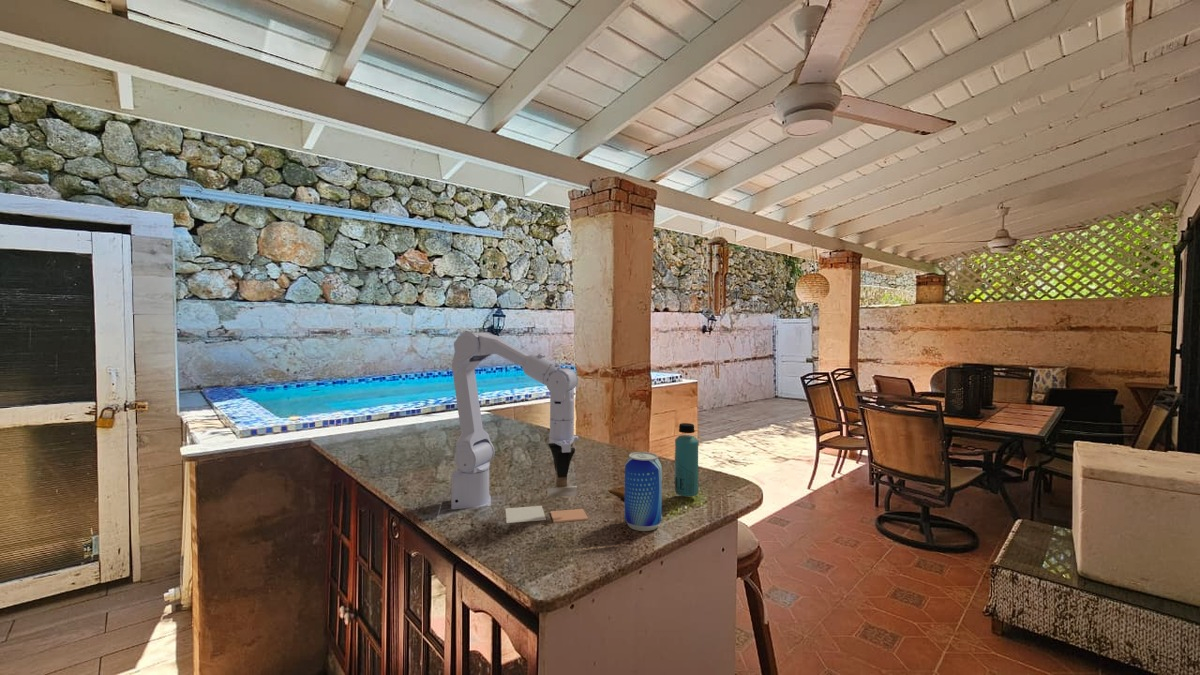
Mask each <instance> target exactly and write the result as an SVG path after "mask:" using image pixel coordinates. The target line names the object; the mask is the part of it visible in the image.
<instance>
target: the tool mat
mask: <svg viewBox="0 0 1200 675" xmlns="http://www.w3.org/2000/svg"><path fill="white" fill-rule="evenodd" d="M546 520H547V518H546V514H545V511H544V509H543V506H542V505H533V506H523V507H521V506H520V507H507V508H505V521H506V524H513V523H524V522H536V521H537V522H538V521H546Z"/></svg>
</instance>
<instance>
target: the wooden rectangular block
mask: <svg viewBox="0 0 1200 675" xmlns="http://www.w3.org/2000/svg"><path fill="white" fill-rule="evenodd" d="M546 491H547V493H546V495H547V496H546V497H547V498H556V497H572V496H573V497H575V496H578V486H577V485H571V486H570V485H569V486H568V476H567V477H561V478H558V475H557V471H555V487H553V486H551V487H547V488H546Z"/></svg>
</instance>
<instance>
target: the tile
mask: <svg viewBox="0 0 1200 675" xmlns="http://www.w3.org/2000/svg"><path fill="white" fill-rule="evenodd" d="M550 515H551V518H552V522H553V524H556V523H557V524H558V523H567V522H579V521H581V522H582V521H588V520H589V518H588V515H587V514H586V512H585V510H584V508H576V509H564V510H563V509H562V510H561V509H560V510H551V511H550Z"/></svg>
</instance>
